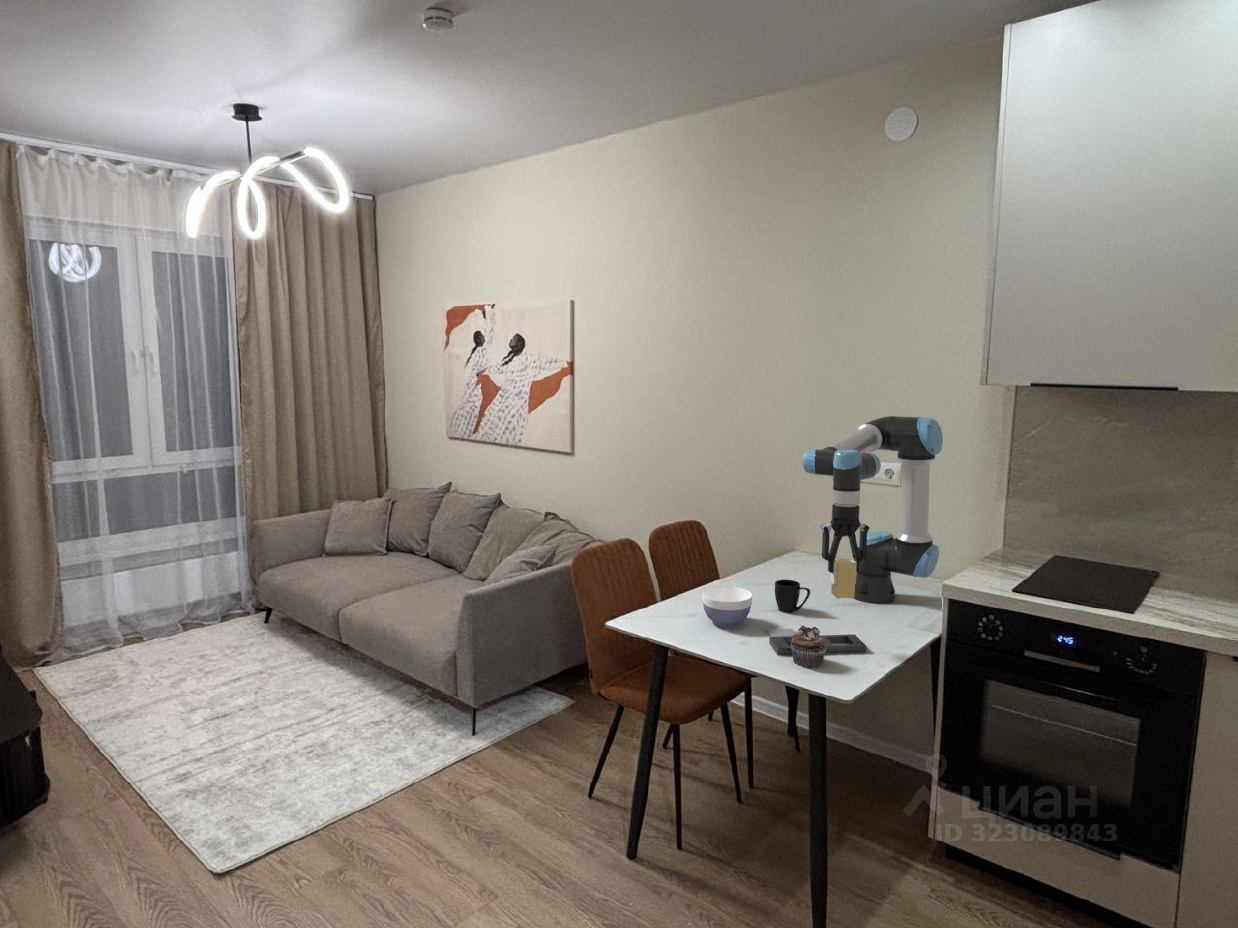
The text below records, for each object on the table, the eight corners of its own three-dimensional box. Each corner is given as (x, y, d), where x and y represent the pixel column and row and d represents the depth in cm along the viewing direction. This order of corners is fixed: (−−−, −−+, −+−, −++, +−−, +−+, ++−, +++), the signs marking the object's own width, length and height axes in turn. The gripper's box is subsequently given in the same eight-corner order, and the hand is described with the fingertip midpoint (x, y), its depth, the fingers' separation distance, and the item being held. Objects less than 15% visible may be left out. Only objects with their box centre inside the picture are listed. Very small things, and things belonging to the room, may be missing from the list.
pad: (792, 630, 235) (792, 628, 235) (800, 639, 227) (800, 637, 227) (767, 630, 234) (767, 629, 234) (774, 640, 226) (774, 638, 226)
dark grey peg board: (854, 640, 226) (854, 634, 226) (866, 652, 217) (866, 645, 217) (769, 643, 224) (769, 636, 224) (777, 654, 215) (777, 648, 215)
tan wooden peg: (847, 592, 222) (849, 559, 220) (854, 597, 217) (855, 564, 215) (831, 592, 221) (832, 559, 220) (837, 598, 216) (838, 564, 215)
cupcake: (787, 666, 207) (788, 631, 206) (793, 653, 216) (794, 620, 215) (823, 671, 204) (825, 636, 203) (827, 658, 213) (828, 624, 212)
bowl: (755, 617, 247) (755, 589, 246) (747, 633, 232) (747, 604, 231) (707, 612, 252) (708, 584, 251) (696, 628, 237) (697, 598, 236)
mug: (803, 618, 246) (804, 590, 244) (769, 610, 253) (770, 583, 252) (813, 611, 252) (814, 584, 251) (781, 604, 259) (781, 577, 258)
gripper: (871, 500, 219) (868, 578, 223) (810, 502, 218) (808, 579, 222) (882, 506, 212) (878, 585, 215) (819, 507, 211) (816, 587, 214)
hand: (843, 582), depth 218 cm, fingers closed on tan wooden peg, 5 cm apart
